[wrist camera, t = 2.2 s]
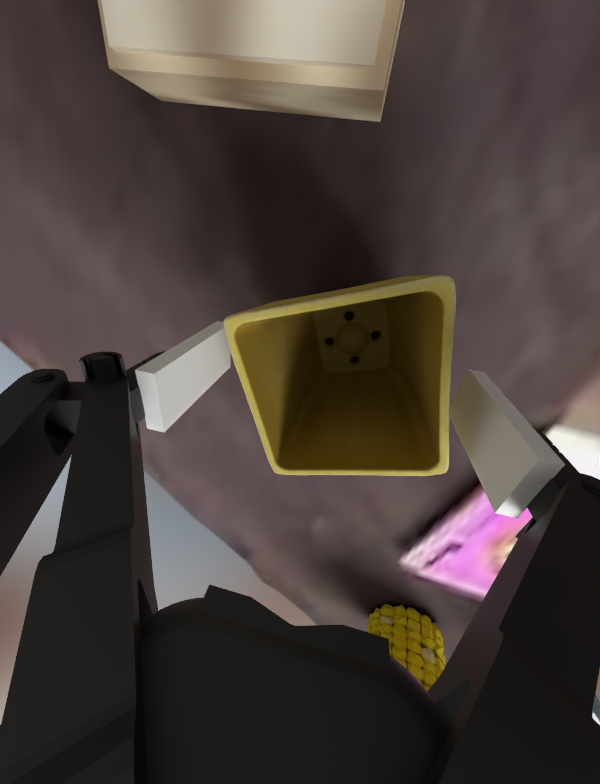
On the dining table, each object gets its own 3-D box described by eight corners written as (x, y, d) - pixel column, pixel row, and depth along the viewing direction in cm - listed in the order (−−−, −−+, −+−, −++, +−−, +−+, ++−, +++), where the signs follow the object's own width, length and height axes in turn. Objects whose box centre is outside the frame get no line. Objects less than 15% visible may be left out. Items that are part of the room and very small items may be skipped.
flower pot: (278, 282, 19) (215, 318, 11) (416, 253, 16) (459, 272, 8) (304, 393, 23) (272, 476, 15) (418, 384, 20) (448, 477, 12)
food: (427, 627, 40) (359, 603, 42) (463, 616, 32) (376, 587, 34) (434, 805, 30) (342, 762, 31) (490, 857, 21) (361, 796, 23)
